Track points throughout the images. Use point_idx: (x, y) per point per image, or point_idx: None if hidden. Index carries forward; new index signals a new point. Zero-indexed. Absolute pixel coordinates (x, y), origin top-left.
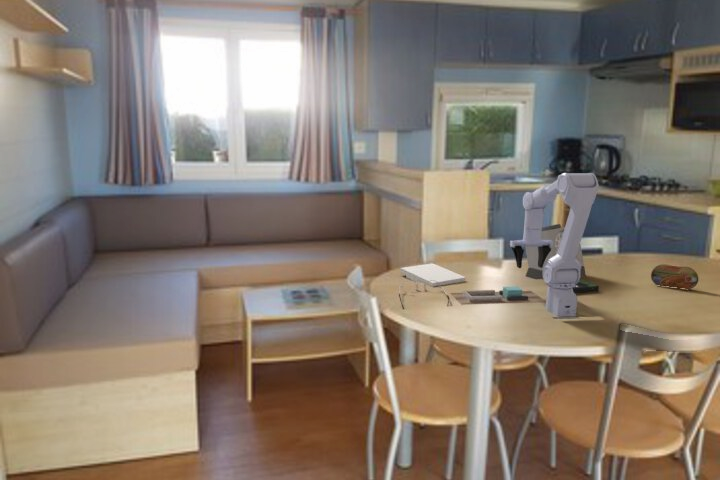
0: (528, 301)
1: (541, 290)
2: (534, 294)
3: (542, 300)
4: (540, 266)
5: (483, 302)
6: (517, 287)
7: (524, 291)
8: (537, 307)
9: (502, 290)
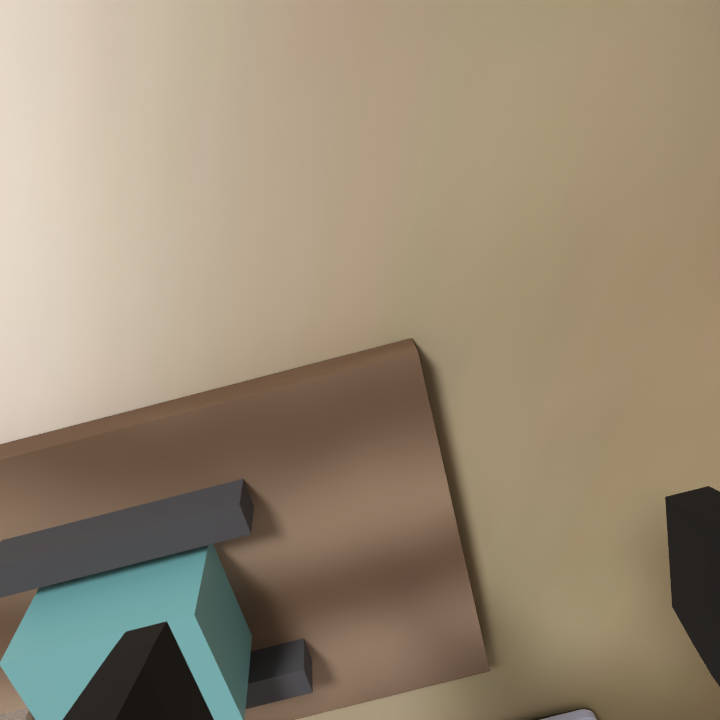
0: (308, 696)
1: (599, 161)
2: (425, 484)
3: (455, 644)
4: (687, 618)
5: None
6: (192, 655)
7: (327, 391)
8: (376, 715)
9: (21, 560)
